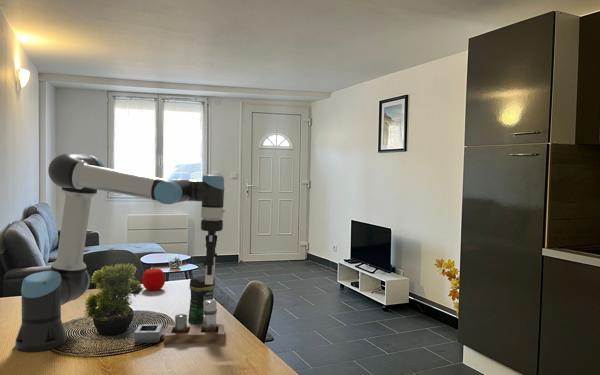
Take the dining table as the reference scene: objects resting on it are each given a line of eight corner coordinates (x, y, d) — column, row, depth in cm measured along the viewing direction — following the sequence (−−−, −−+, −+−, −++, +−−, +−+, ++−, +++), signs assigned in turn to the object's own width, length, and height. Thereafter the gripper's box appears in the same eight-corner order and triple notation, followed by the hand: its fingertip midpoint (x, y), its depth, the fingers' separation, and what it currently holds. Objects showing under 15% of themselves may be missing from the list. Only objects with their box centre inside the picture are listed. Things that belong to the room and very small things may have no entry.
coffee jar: (197, 328, 179) (198, 279, 178) (185, 323, 184) (185, 276, 183) (217, 322, 186) (218, 275, 185) (205, 317, 191) (206, 272, 191)
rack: (163, 347, 160) (164, 335, 160) (167, 336, 170) (168, 325, 170) (223, 345, 163) (224, 334, 163) (224, 335, 173) (224, 324, 172)
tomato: (164, 292, 227) (165, 269, 227) (141, 293, 224) (142, 270, 224) (164, 286, 237) (165, 265, 237) (142, 287, 234) (142, 266, 234)
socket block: (134, 345, 160) (134, 332, 160) (138, 337, 168) (139, 324, 168) (158, 344, 162) (158, 332, 161) (162, 336, 169) (162, 324, 169)
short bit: (174, 340, 163) (174, 317, 163) (175, 336, 167) (175, 314, 167) (186, 340, 164) (186, 317, 163) (187, 336, 168) (187, 313, 167)
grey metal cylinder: (202, 340, 164) (202, 303, 164) (203, 335, 169) (203, 299, 168) (216, 339, 165) (216, 303, 164) (216, 335, 170) (217, 299, 169)
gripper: (222, 224, 153) (219, 288, 154) (223, 215, 178) (221, 271, 179) (198, 223, 152) (196, 288, 153) (203, 214, 177) (201, 270, 178)
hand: (209, 279), depth 166 cm, fingers open, 13 cm apart
